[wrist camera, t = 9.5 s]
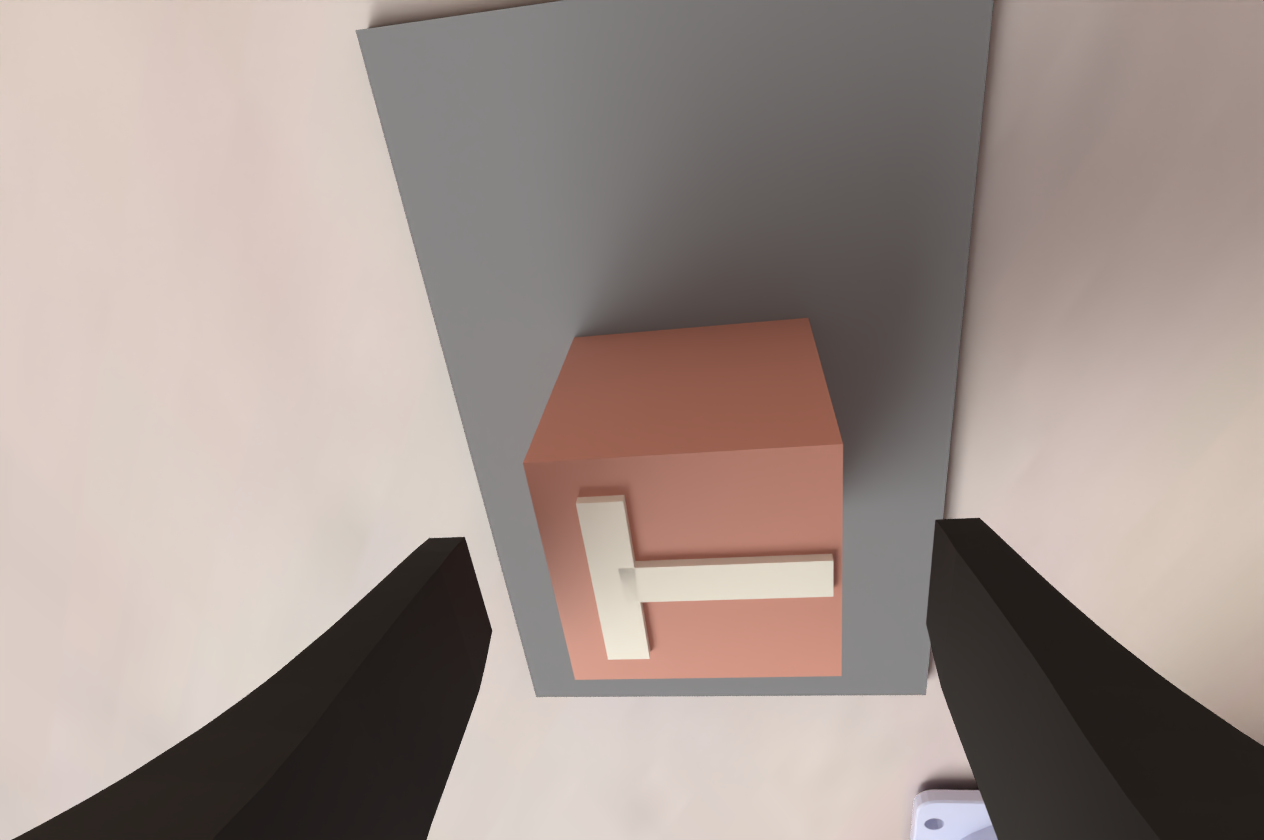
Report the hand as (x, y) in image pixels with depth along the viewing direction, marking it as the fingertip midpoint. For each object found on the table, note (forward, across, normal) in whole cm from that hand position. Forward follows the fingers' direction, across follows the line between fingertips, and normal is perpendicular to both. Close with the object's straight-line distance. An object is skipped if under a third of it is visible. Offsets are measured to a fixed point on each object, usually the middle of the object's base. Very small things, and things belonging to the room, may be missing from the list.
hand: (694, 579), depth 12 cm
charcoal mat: (+5, 0, 0) cm, 5 cm away
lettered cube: (+4, 0, 0) cm, 5 cm away
